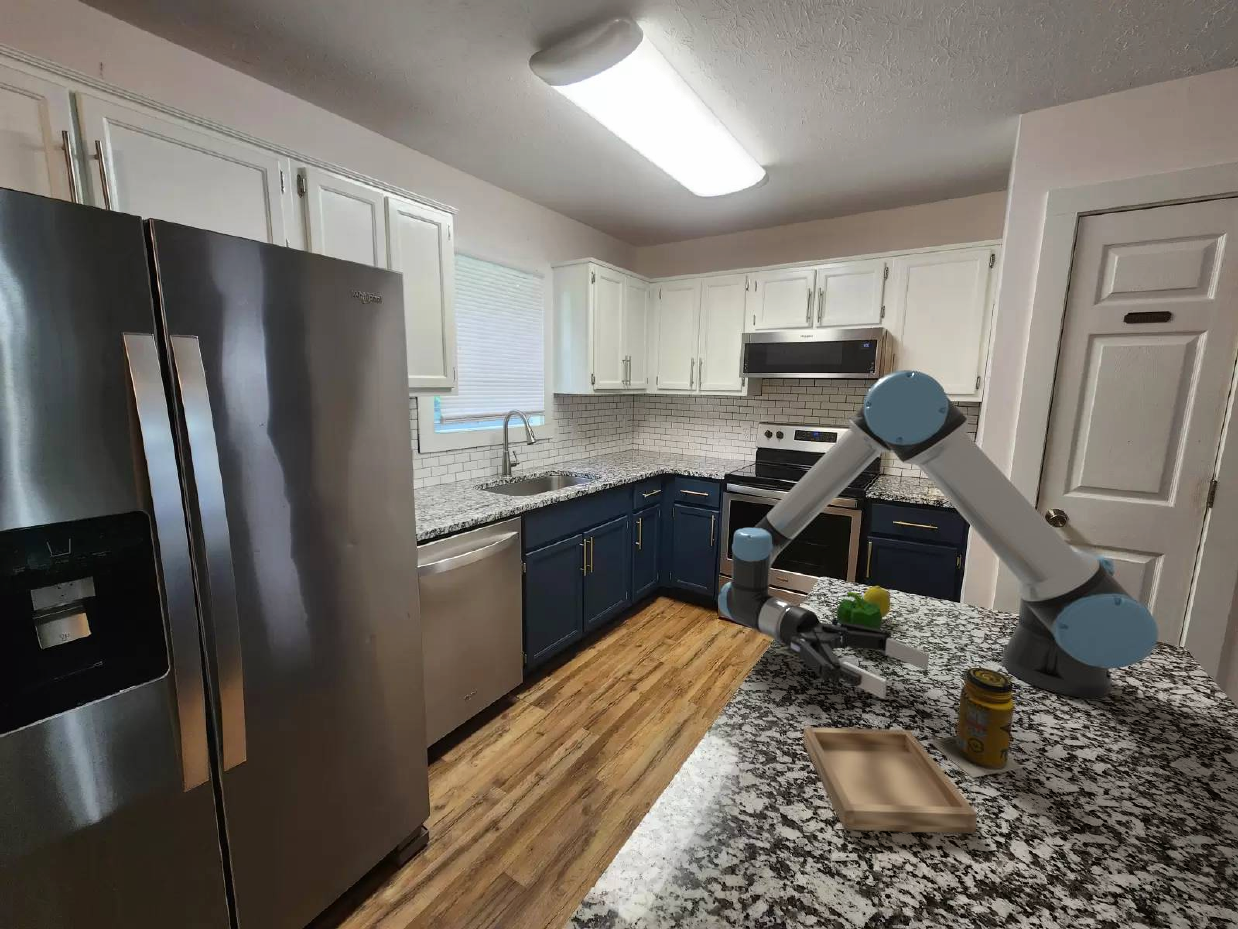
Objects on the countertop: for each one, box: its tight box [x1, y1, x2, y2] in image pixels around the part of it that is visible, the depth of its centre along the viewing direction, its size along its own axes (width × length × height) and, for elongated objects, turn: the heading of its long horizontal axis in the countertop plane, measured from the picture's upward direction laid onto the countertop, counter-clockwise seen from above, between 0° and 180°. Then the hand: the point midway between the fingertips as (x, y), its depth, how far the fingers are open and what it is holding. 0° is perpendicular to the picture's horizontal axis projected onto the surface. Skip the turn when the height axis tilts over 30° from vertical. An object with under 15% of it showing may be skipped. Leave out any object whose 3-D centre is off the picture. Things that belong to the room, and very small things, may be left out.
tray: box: [802, 726, 978, 835], centre depth 67 cm, size 15×15×2 cm
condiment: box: [929, 667, 1024, 779], centre depth 72 cm, size 7×8×12 cm
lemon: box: [862, 585, 891, 619], centre depth 116 cm, size 6×6×8 cm
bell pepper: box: [836, 591, 883, 629], centre depth 106 cm, size 8×8×10 cm
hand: (907, 675), depth 79 cm, fingers open, 13 cm apart
